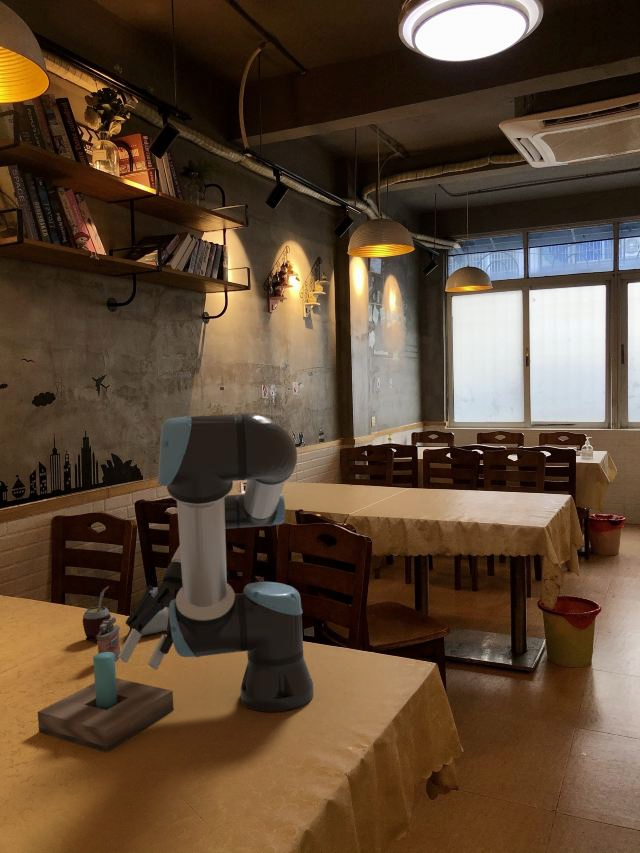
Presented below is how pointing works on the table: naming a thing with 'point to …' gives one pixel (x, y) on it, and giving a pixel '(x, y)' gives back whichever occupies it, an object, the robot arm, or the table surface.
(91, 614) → the mate gourd
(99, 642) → the lighter
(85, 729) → the hole board
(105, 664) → the pin
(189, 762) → the table surface
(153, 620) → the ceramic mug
